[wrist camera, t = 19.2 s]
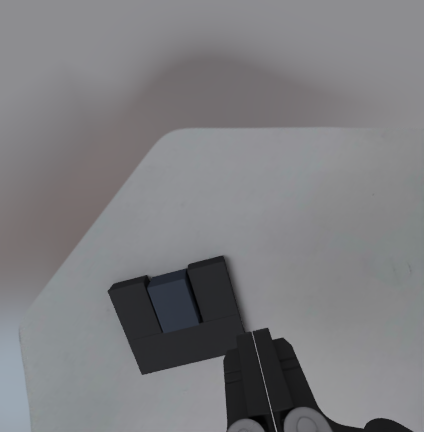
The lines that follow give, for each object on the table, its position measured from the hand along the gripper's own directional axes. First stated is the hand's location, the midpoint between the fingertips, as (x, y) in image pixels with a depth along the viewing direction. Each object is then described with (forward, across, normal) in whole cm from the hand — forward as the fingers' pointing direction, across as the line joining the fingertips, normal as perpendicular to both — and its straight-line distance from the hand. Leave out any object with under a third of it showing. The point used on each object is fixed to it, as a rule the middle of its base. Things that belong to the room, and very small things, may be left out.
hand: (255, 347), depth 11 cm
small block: (+22, +9, +9) cm, 25 cm away
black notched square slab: (+22, +9, +12) cm, 26 cm away
